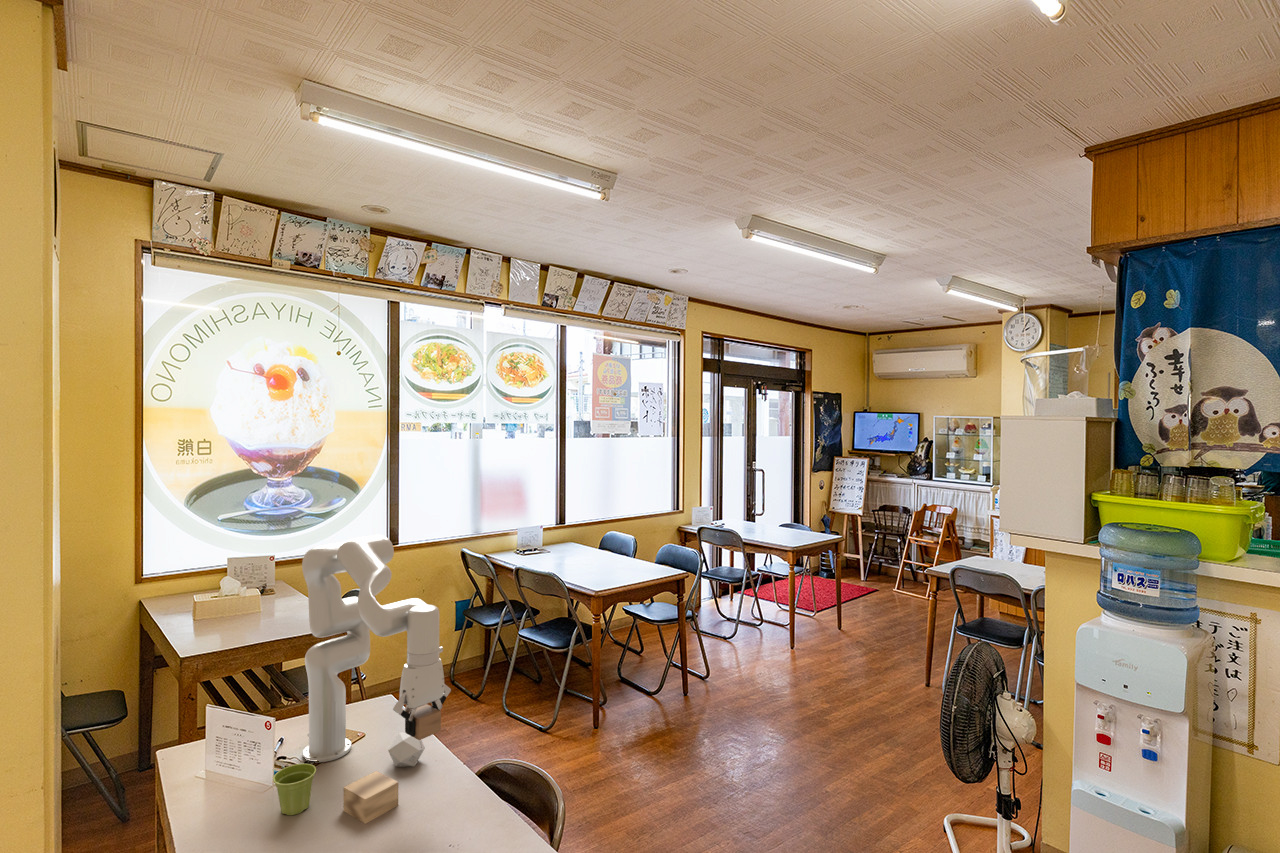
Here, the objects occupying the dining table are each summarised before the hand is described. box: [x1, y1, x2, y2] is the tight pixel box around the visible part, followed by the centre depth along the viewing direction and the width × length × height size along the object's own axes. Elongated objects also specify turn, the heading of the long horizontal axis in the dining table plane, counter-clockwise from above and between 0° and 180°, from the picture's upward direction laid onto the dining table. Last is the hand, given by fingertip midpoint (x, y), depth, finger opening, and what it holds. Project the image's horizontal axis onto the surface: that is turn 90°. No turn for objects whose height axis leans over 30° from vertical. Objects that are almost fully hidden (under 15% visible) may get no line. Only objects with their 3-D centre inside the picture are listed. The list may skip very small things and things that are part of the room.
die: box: [387, 731, 426, 767], centre depth 183 cm, size 8×9×10 cm
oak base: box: [342, 770, 399, 824], centre depth 162 cm, size 9×9×6 cm
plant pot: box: [272, 763, 317, 816], centre depth 161 cm, size 9×9×9 cm
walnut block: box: [404, 703, 442, 740], centre depth 162 cm, size 6×6×5 cm
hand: (422, 728), depth 162 cm, fingers closed on walnut block, 6 cm apart
